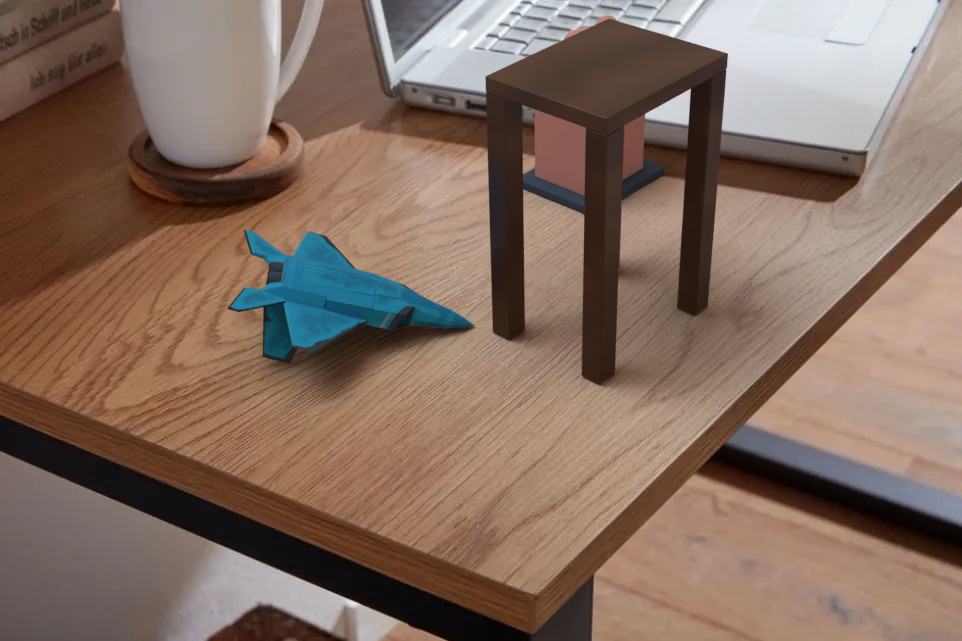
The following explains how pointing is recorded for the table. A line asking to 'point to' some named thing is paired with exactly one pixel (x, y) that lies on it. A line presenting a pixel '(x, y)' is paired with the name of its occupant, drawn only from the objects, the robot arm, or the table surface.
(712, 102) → the wooden stool
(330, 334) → the toy airplane
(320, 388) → the table surface
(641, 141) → the pink block
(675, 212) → the table surface
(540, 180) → the mat
